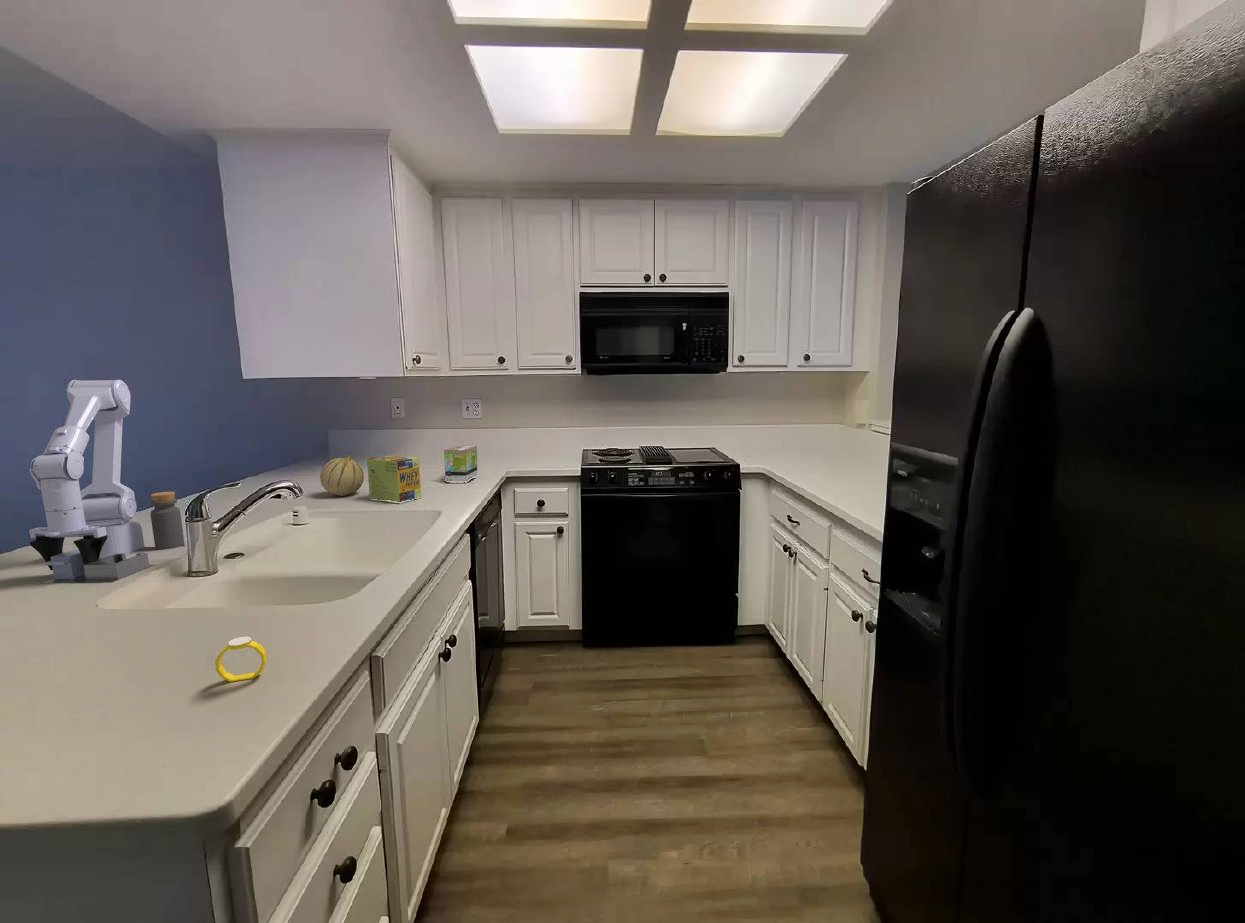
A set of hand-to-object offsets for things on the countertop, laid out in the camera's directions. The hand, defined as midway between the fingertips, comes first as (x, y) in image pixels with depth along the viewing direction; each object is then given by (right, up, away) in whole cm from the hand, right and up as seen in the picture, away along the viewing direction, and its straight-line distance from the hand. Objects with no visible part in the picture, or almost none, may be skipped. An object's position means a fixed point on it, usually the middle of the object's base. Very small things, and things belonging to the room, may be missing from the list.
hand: (74, 568), depth 117 cm
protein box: (+37, +9, +79) cm, 88 cm away
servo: (0, -1, 0) cm, 1 cm away
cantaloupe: (+14, +10, +86) cm, 88 cm away
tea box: (+51, +15, +116) cm, 127 cm away
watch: (+66, -8, -39) cm, 77 cm away
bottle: (+4, 0, +21) cm, 21 cm away
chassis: (+5, -2, +1) cm, 6 cm away
